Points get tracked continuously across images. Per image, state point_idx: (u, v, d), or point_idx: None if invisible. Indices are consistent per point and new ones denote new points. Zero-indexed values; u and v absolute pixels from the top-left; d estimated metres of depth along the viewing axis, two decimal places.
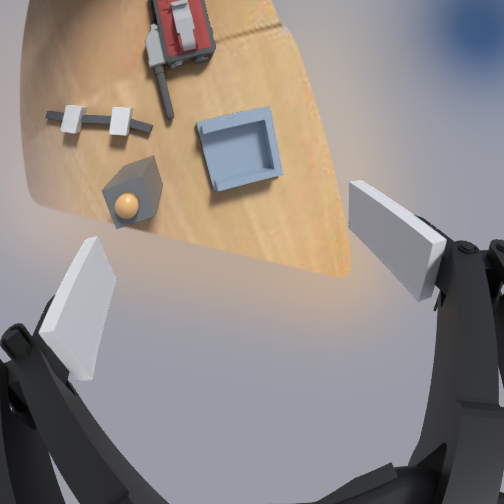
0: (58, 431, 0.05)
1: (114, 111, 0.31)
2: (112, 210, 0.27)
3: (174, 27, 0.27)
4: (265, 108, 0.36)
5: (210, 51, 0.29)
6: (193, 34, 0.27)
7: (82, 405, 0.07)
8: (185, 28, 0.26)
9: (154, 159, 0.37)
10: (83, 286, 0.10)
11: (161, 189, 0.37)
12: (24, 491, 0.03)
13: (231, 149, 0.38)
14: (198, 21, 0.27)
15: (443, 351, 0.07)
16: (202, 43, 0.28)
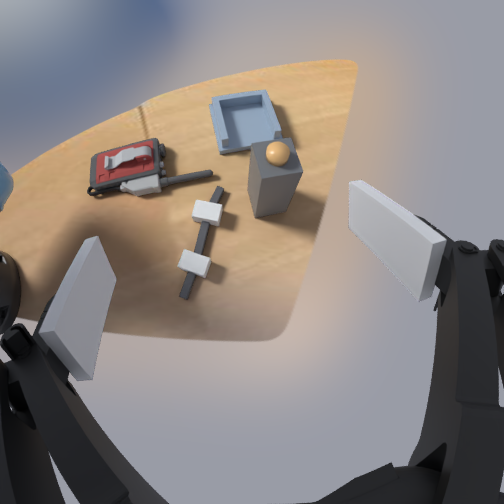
0: (58, 431, 0.05)
1: (195, 214, 0.38)
2: (283, 172, 0.29)
3: (128, 166, 0.39)
4: (210, 106, 0.44)
5: (156, 140, 0.40)
6: (138, 147, 0.38)
7: (82, 405, 0.07)
8: (131, 153, 0.38)
9: None
10: (83, 286, 0.10)
11: None
12: (24, 491, 0.03)
13: (245, 127, 0.43)
14: None
15: (443, 351, 0.07)
16: (148, 145, 0.40)
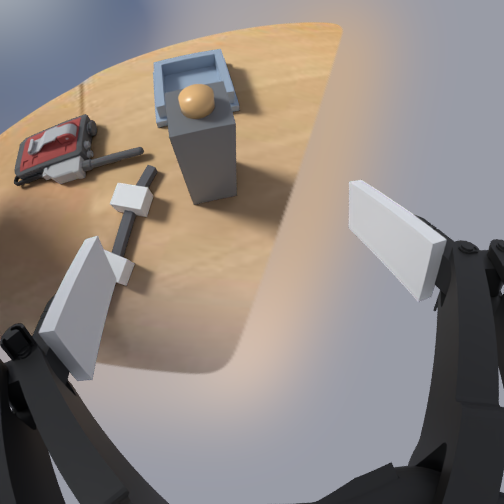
0: (58, 431, 0.05)
1: (115, 201, 0.27)
2: (204, 125, 0.18)
3: (51, 148, 0.28)
4: None
5: (85, 116, 0.29)
6: (61, 126, 0.27)
7: (82, 405, 0.07)
8: (53, 133, 0.27)
9: None
10: (83, 286, 0.10)
11: None
12: (24, 491, 0.03)
13: None
14: None
15: (443, 351, 0.07)
16: (75, 123, 0.29)
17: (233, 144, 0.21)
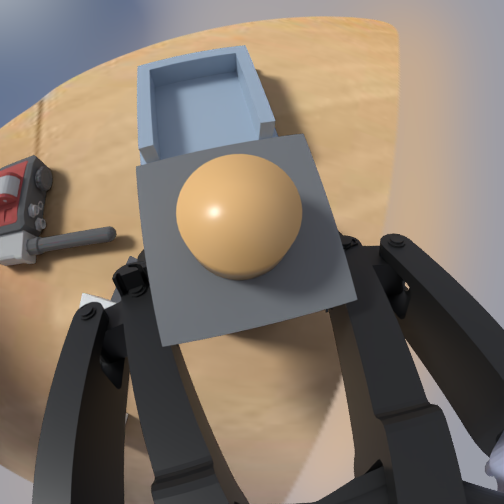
0: (154, 380, 0.06)
1: None
2: (266, 309, 0.06)
3: None
4: None
5: (33, 160, 0.17)
6: None
7: (182, 358, 0.09)
8: None
9: None
10: None
11: None
12: (86, 458, 0.04)
13: (200, 117, 0.20)
14: None
15: (346, 359, 0.07)
16: (18, 171, 0.17)
17: None
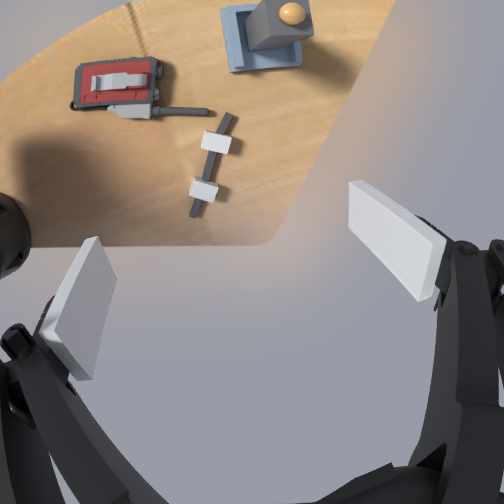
0: (58, 431, 0.05)
1: (205, 146, 0.37)
2: (294, 31, 0.22)
3: (118, 90, 0.30)
4: (222, 11, 0.28)
5: (155, 62, 0.29)
6: (132, 74, 0.28)
7: (82, 405, 0.07)
8: (123, 80, 0.28)
9: None
10: (84, 286, 0.10)
11: None
12: (24, 491, 0.03)
13: None
14: (119, 68, 0.28)
15: (443, 351, 0.07)
16: (144, 67, 0.29)
17: (303, 38, 0.24)
